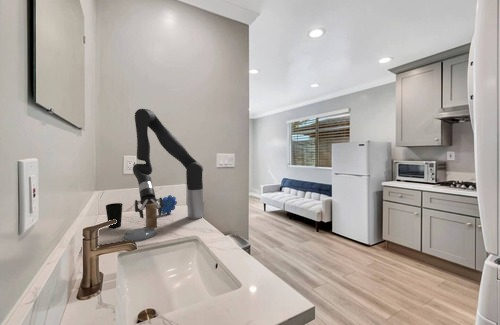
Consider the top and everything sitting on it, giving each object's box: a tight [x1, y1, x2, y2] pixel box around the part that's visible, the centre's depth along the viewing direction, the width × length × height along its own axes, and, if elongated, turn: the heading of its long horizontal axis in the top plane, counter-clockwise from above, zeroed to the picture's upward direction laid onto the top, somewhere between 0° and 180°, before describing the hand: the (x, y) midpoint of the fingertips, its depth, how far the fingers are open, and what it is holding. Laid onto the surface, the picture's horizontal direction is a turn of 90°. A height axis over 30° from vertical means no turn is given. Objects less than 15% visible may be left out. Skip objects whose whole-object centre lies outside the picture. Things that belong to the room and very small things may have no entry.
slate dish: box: [124, 227, 156, 242], centre depth 107 cm, size 13×13×2 cm
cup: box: [105, 202, 123, 230], centre depth 119 cm, size 8×8×12 cm
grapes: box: [158, 194, 178, 215], centre depth 144 cm, size 12×7×12 cm, turn 131°
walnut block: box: [145, 203, 158, 229], centre depth 119 cm, size 4×4×12 cm
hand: (151, 216), depth 118 cm, fingers open, 8 cm apart
